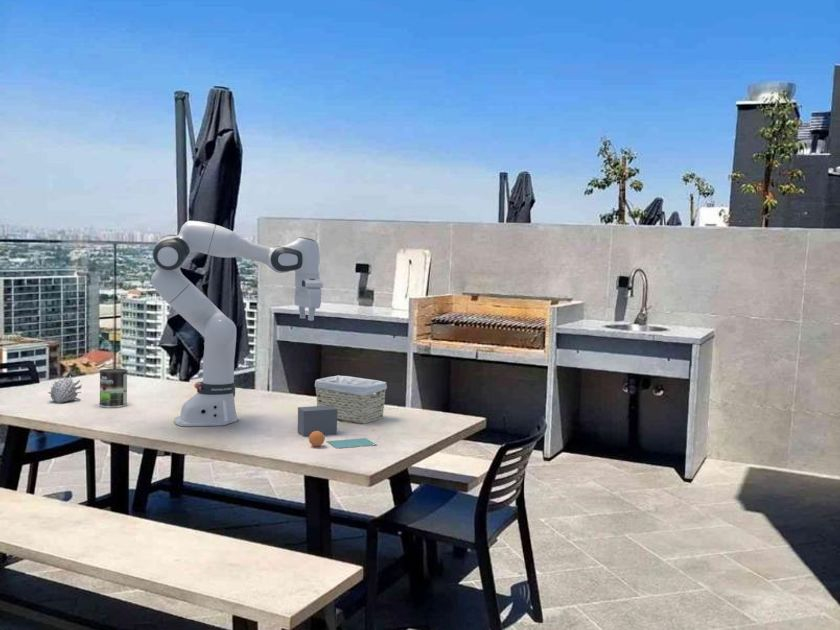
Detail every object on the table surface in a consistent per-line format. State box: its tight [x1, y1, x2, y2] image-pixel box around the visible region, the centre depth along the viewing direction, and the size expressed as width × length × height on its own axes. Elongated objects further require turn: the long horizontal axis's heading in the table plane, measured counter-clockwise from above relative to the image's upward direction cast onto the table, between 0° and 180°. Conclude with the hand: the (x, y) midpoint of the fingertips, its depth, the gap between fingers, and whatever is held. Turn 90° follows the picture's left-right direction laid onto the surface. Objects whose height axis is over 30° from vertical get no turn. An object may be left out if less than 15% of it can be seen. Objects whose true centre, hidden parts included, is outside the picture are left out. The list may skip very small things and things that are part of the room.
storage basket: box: [314, 375, 388, 425], centre depth 298 cm, size 24×16×15 cm
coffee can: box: [99, 368, 128, 409], centre depth 309 cm, size 10×10×14 cm
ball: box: [308, 431, 325, 447], centre depth 252 cm, size 5×5×5 cm
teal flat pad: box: [326, 437, 378, 449], centre depth 257 cm, size 14×10×1 cm
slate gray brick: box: [297, 405, 338, 437], centre depth 270 cm, size 12×7×9 cm, turn 115°
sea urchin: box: [47, 375, 83, 404], centre depth 314 cm, size 12×11×12 cm
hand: (306, 319), depth 287 cm, fingers open, 8 cm apart
